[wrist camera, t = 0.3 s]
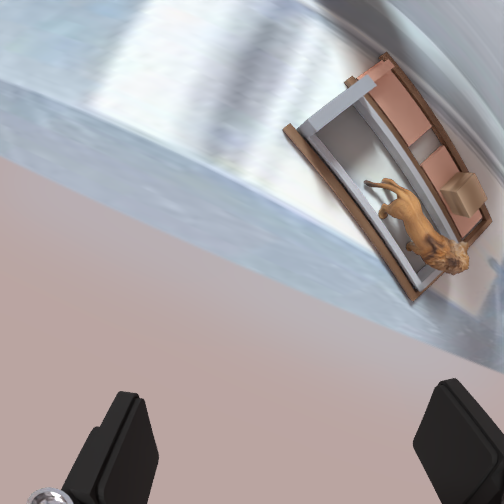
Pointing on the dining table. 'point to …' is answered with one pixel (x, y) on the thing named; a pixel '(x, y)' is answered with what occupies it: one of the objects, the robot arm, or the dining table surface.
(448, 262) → the lion figurine
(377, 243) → the lane rails
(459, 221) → the broken strip
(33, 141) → the dining table surface
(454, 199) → the cube
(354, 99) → the grey long open box
